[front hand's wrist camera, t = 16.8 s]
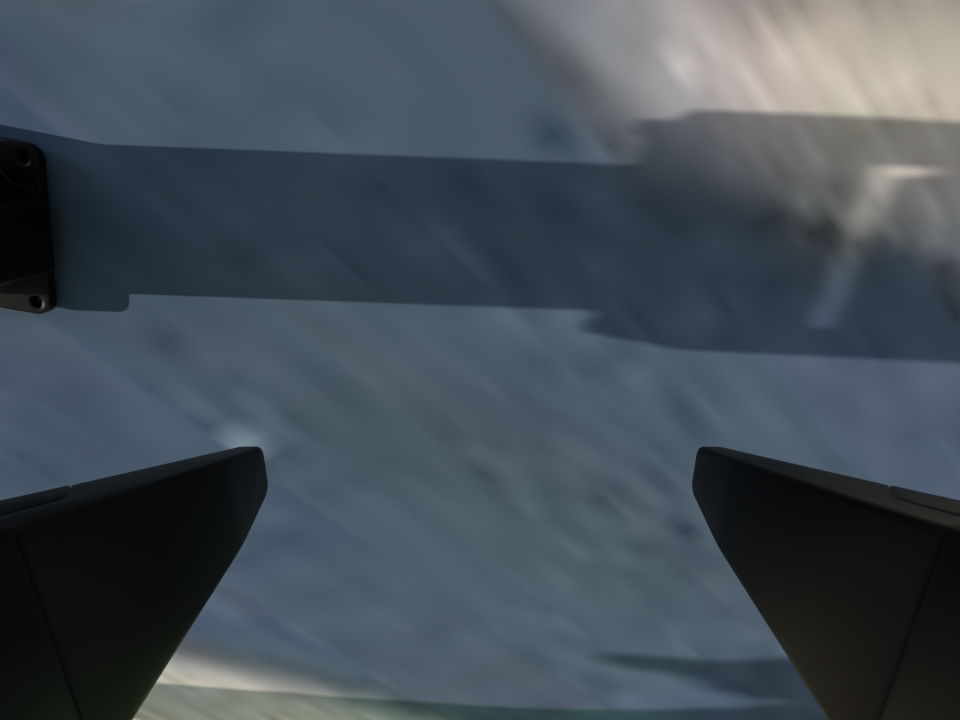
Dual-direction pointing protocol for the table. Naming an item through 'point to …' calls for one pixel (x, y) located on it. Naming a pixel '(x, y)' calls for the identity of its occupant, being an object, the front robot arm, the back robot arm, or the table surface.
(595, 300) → the table surface
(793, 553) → the front robot arm
